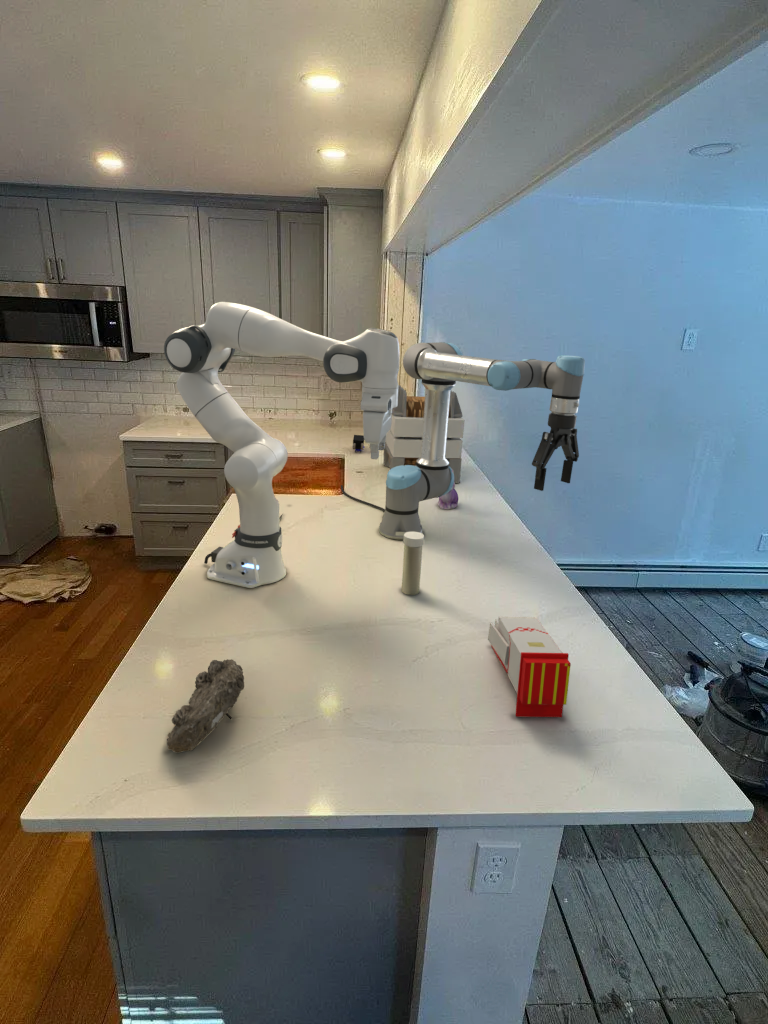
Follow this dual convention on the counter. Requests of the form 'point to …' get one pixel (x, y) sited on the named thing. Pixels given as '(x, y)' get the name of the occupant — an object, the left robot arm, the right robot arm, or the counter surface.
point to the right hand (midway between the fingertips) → (552, 485)
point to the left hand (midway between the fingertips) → (377, 454)
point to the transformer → (409, 429)
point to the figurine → (449, 499)
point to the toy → (531, 665)
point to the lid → (413, 539)
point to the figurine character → (358, 443)
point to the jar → (411, 570)
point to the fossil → (206, 705)
